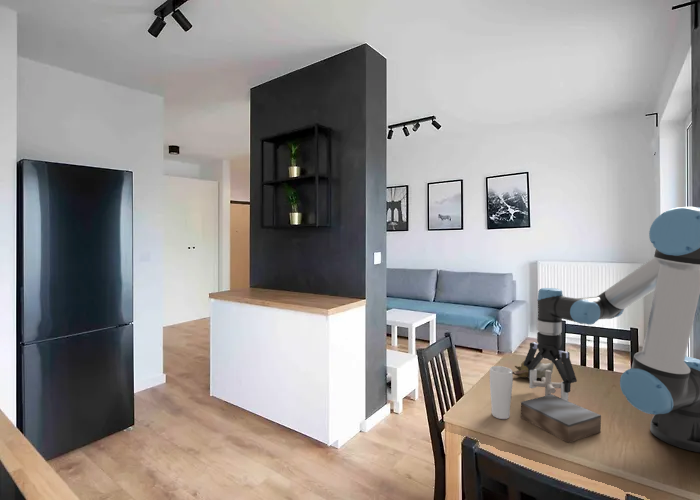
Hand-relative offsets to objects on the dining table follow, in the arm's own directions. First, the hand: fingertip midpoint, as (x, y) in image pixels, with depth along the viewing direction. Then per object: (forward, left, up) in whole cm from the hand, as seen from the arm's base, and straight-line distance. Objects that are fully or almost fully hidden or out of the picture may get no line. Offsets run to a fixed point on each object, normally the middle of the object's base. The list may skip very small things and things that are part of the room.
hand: (548, 393), depth 133 cm
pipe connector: (0, 0, -2) cm, 2 cm away
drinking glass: (-3, +25, -2) cm, 25 cm away
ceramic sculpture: (+17, -12, -2) cm, 21 cm away
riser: (-14, +13, -2) cm, 19 cm away
